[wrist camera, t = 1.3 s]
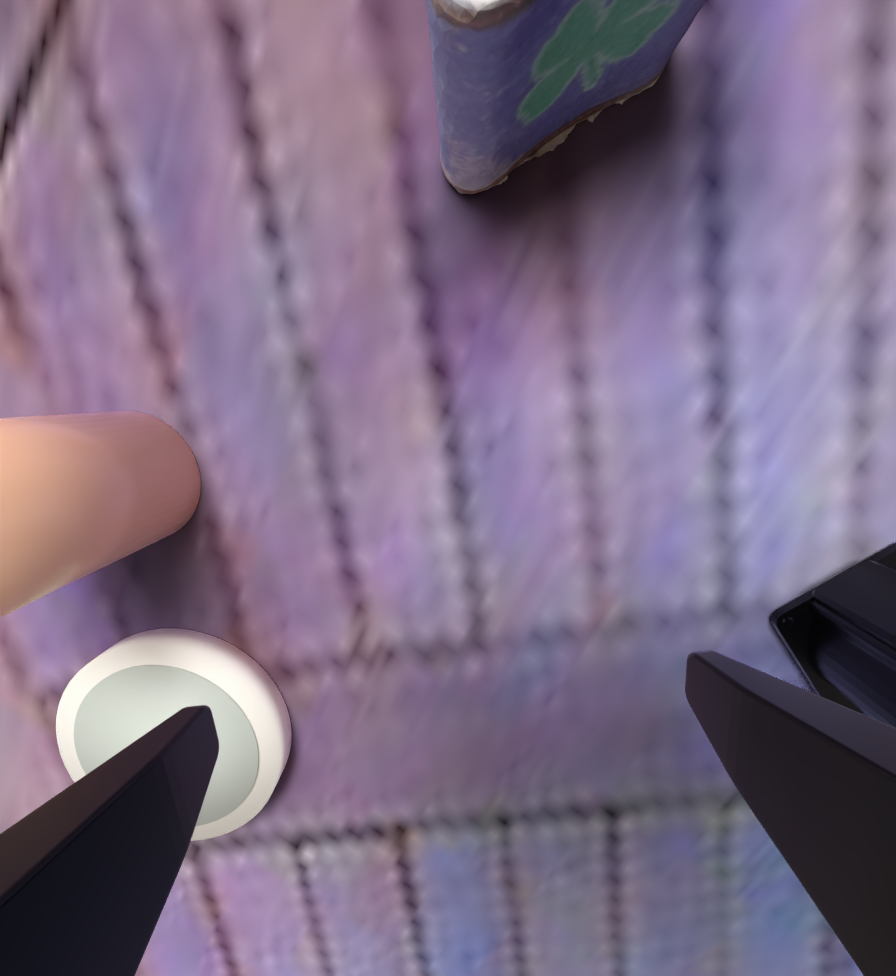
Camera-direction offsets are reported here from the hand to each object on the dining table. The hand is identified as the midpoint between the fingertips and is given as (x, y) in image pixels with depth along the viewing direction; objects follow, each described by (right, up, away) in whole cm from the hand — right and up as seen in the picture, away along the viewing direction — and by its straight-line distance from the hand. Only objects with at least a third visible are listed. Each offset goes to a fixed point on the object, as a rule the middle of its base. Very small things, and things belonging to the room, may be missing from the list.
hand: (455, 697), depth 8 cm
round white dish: (-14, -8, +15) cm, 22 cm away
